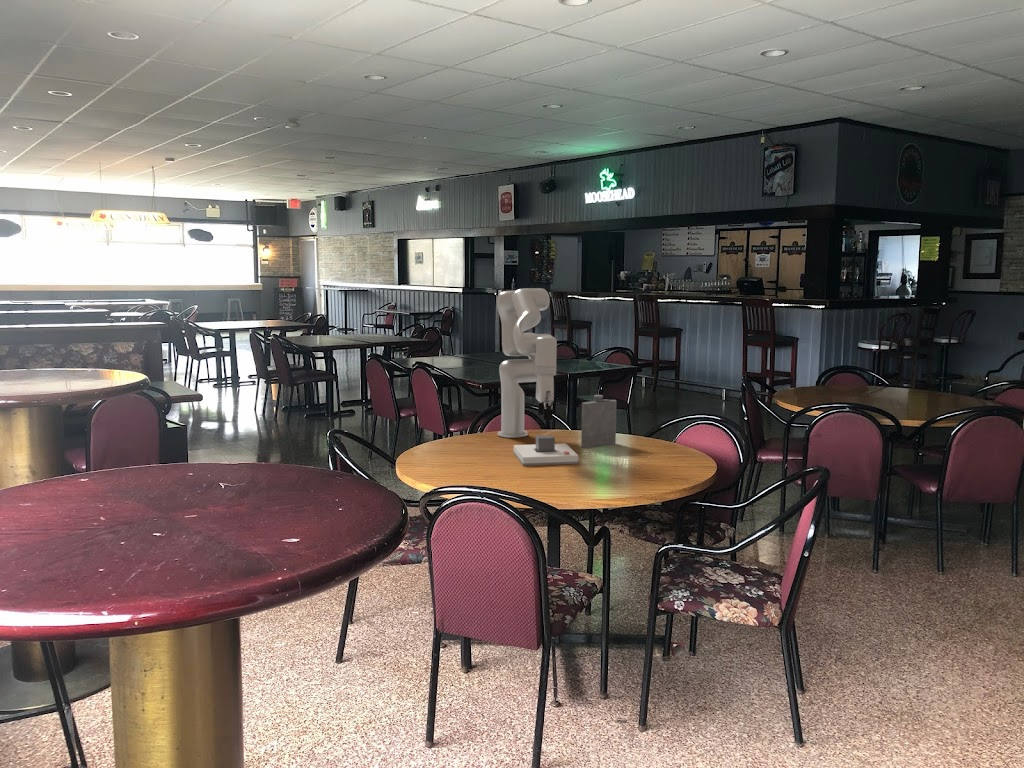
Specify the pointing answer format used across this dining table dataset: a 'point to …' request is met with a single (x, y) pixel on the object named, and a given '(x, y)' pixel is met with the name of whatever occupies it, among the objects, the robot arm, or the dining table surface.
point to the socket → (545, 455)
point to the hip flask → (598, 422)
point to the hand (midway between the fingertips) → (545, 417)
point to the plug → (545, 443)
